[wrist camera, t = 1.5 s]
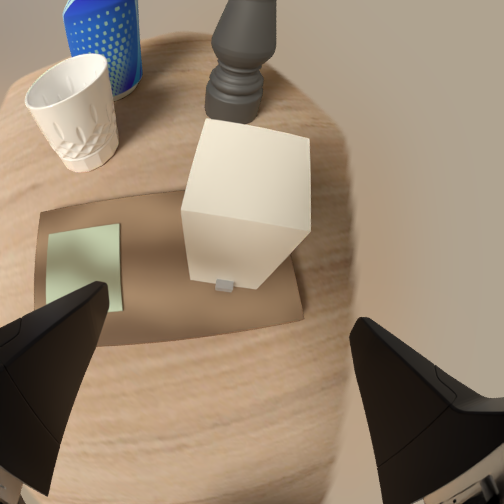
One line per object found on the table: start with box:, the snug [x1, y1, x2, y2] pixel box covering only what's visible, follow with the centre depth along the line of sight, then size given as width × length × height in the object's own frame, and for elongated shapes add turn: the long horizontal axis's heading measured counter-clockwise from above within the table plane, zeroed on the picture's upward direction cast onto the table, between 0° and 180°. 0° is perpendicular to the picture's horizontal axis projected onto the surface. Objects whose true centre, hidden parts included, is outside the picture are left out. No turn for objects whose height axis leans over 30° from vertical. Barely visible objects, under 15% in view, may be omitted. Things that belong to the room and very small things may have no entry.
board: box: [34, 190, 304, 347], centre depth 19 cm, size 12×22×6 cm, turn 100°
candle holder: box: [205, 0, 276, 124], centre depth 17 cm, size 6×6×25 cm
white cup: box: [25, 53, 119, 173], centre depth 19 cm, size 8×8×10 cm
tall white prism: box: [181, 119, 311, 292], centre depth 16 cm, size 6×5×11 cm
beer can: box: [63, 0, 143, 102], centre depth 20 cm, size 8×8×16 cm
